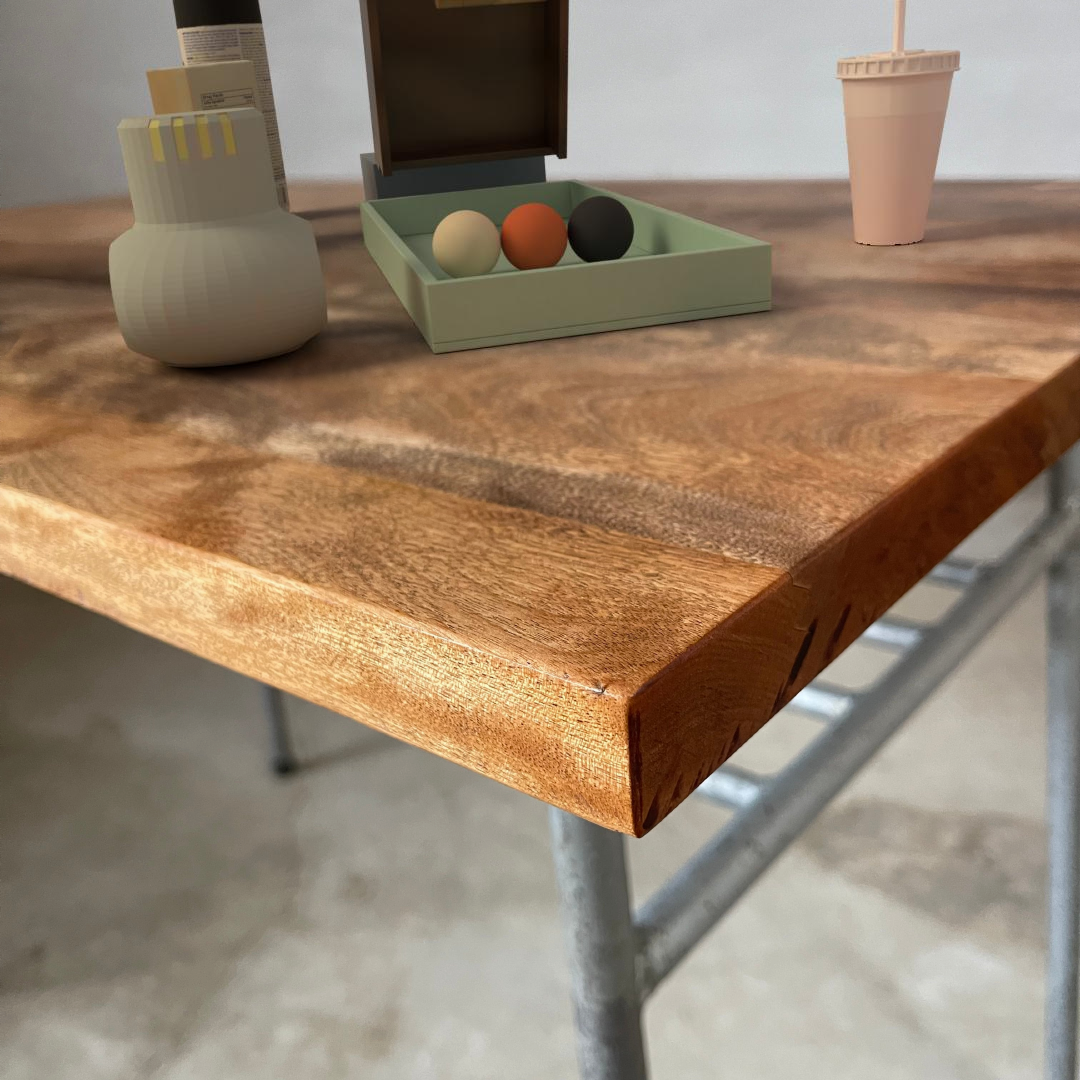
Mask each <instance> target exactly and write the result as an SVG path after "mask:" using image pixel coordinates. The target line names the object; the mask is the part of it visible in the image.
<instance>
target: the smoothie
mask: <svg viewBox="0 0 1080 1080" xmlns="http://www.w3.org/2000/svg"><path fill="white" fill-rule="evenodd" d="M906 5H907V0H894V15H893V16H894V17H893V35H892V50H889V51H879V52H871V53H870V54H868V55H859V56H857V55H856V56H850V57H842V58H839V59H837V61H836V64H837V65H836V75H835V76H834V77H835V79H836V80H841V86H842V88H841V89H842V103H843V115H844V125H845V138H846V149H847V159H848V161H847V162H848V172H849V173H848V174H849V183H850V184H849V185H850V196H851V207H852V220H853V231H854V241H855V242H856V243H857V242H858V244H860V243H863V244H862V245H867V244H870V245H869V246H896V245H895V244H901V245H908V243H909V244H914V243H913V242H915V243H918V241H919V242H921V241H922V239H923V240H924V236H925V231H926V230H925V229H926V225H927V218H928V213H929V207H930V202H931V197H932V192H933V186H934V180H935V175H936V169H937V164H938V159H939V155H940V148H941V144H942V138H943V132H944V127H945V121H946V116H947V111H948V106H949V101H950V95H951V89H952V83H953V78H954V74H955V72H959V71H960V70H961V68H962V67H960V63H961V51H960V50H958V49H943V50H942V49H941V50H938V49H937V50H926V49H925V48H924V49H923V48H921V49H919V48H918V49H904V47H905V46H904V45H905V29H906V9H907V8H906V7H907V6H906ZM920 240H921V241H920Z"/></svg>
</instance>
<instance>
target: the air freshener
mask: <svg viewBox="0 0 1080 1080" xmlns="http://www.w3.org/2000/svg"><path fill="white" fill-rule="evenodd" d="M116 129H117V135H118V139H119V144H120V150H121V154H122V160H123V164H124V169H125V175H126V179H127V183H128V190H129V194H130V199H131V203H132V209H133V214H134V219H135V221H134V224H133V226H132V227H130V228H129V229H128V230H126V231H125V232H123V233H122V234H121V235H118V237H117V238H116V239H114V241H112V242H111V243H110V245H109V248H108V249H109V250H108V271H109V281H110V289H111V296H112V300H113V305H114V311H115V314H116V319H117V323H118V327H119V330H120V334H121V335H122V339H123V340H124V343H125V345H126V347H127V349H129V350H130V351H132V352H134V353H136V354H137V355H141V356H143V357H146V358H148V359H151V360H153V361H158V362H160V363H163V364H165V365H166V366H169V367H174V368H175V367H176V368H209V367H222V366H230V365H239V364H244V363H250V362H256V361H257V362H258V361H262V360H266V359H272V358H276V357H279V356H282V355H287V354H289V353H293V352H294V351H297V350H298V349H300V348H301V347H303V346H304V344H305V343H306V342H307V341H309V340H311V339H312V338H313V337H314V336H316V335H317V334H318V333H320V332H321V331H323V329H324V328H326V327H327V325H328V307H327V306H328V305H327V299H326V291H325V284H324V277H323V272H322V265H321V260H320V256H319V251H318V247H317V242H316V238H315V234H314V231H313V228H312V225H311V222H310V221H308V220H307V219H305V218H303V217H301V216H299V215H296V214H294V213H291V212H289V213H288V212H285V211H283V210H282V208H281V207H280V206H279V203H278V197H277V191H276V185H275V180H274V174H273V168H272V162H271V156H270V150H269V144H268V139H267V133H266V127H265V121H264V115H263V114H262V113H261V112H260V111H258V110H257V109H256V108H233V109H218V110H205V111H193V112H182V113H171V114H160V115H155V114H151V115H143V116H135V117H125V118H122V119H121V121H120V122H119V124H118V125H117V127H116Z"/></svg>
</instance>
